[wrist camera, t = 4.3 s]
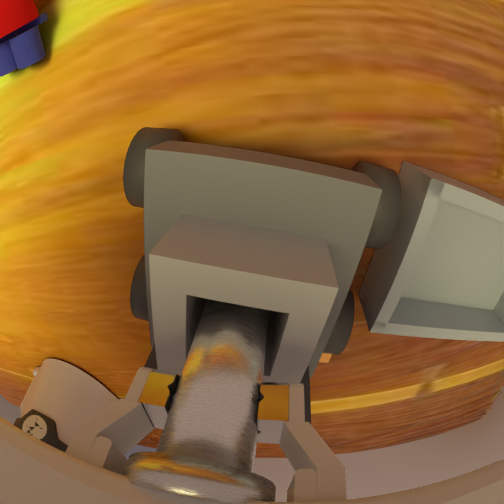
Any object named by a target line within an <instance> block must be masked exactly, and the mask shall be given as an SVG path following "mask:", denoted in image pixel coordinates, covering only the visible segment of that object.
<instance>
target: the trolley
mask: <svg viewBox="0 0 504 504" xmlns="http://www.w3.org/2000/svg"><path fill="white" fill-rule="evenodd" d="M123 182H124V190H125V195H126V198H127V200H128V202H129V203H130V204H131V205H132V206H135V207H142V208H144V251H145V255H144V256H143V257H142V258H141V260H140V262H139V263H138V266H137V268H136V270H135V273H134V277H133V281H132V286H131V295H130V303H131V310H132V313H133V315H134V316H135V317H136V318H139V319H143V320H147V321H149V327H150V337H151V346H152V348H153V349H152V351H151V353H150V355H149V357H148V360H147V362H146V364H145V366H144V367H147V368H152V369H157V370H162V371H167V372H173V373H179V374H180V377H181V374H182V371H183V368H184V365H185V362H186V359H187V356H188V353H189V350H190V347H191V344H192V342H193V339H194V336H195V333H196V330H197V327H198V324H199V321H200V319H201V316H202V313H203V310H204V307H205V304H206V302H207V299H211V300H216V301H221V302H226V303H232V304H237V305H243V306H248V307H254V308H260V309H265V310H269V313H268V325H267V337H266V349H265V361H264V372H263V382H275V383H301V384H303V385H304V405H305V422H309V423H310V424H311V408H310V380H309V377H312V375H313V373H314V371H315V369H316V366H317V364H318V362H323V363H328V362H329V360H330V358H331V356H332V354H340V353H341V352H342V351H343V350H344V348H345V347H346V345H347V343H348V340H349V337H350V334H351V330H352V326H353V319H354V299H353V294H352V292H351V290H350V286H351V283H352V281H353V278H354V275H355V273H356V270H357V267H358V264H359V261H360V259H361V256H362V253H363V250H364V247H368V248H373V249H381V248H382V247H384V246H385V245H386V244H387V242H388V241H389V240H390V238H391V236H392V234H393V232H394V230H395V227H396V224H397V221H398V217H399V213H400V207H401V184H400V180H399V177H398V174H397V173H396V172H395V171H394V170H392V169H389V168H385V167H382V166H378V165H374V164H371V163H367V162H363V161H360V162H358V163H357V164H356V165H355V167H354V169H353V170H352V171H351V170H347V169H343V168H339V167H335V166H330V165H326V164H321V163H317V162H312V161H307V160H302V159H297V158H292V157H287V156H281V155H276V154H270V153H264V152H258V151H252V150H246V149H239V148H232V147H225V146H217V145H209V144H201V143H192V142H184V139H183V136H182V133H181V132H180V131H179V130H177V129H165V128H149V127H145V128H142V129H141V130H139V131H138V132H137V133H136V135H135V136H134V138H133V139H132V141H131V143H130V146H129V148H128V151H127V155H126V159H125V164H124V174H123Z"/></svg>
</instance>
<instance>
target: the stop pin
mask: <svg viewBox="0 0 504 504" xmlns="http://www.w3.org/2000/svg"><path fill="white" fill-rule="evenodd" d="M268 313H269V310H265V309H260V308H254V307H248V306H243V305H237V304H232V303H226V302H221V301H216V300H211V299H207V302H206V304H205V307H204V310H203V313H202V316H201V319H200V321H199V324H198V327H197V330H196V333H195V336H194V339H193V342H192V344H191V347H190V350H189V353H188V356H187V359H186V362H185V365H184V368H183V371H182V374H181V377H180V380H179V383H178V386H177V389H176V392H175V395H174V398H173V401H172V404H171V407H170V410H169V413H168V416H167V419H166V422H165V426H164V429H163V432H162V435H161V438H160V441H159V444H158V448H157V451H156V452H137V453H134V454H132V455H130V456H129V459H128V461H127V464H126V467H125V470H124V473H123V475H124V476H127V477H128V479H129V481H130V483H132V484H136V485H139V486H142V487H146V488H150V489H153V490H157V491H161V492H165V493H169V494H174V495H178V496H183V497H188V498H193V499H199V500H204V501H211V502H218V503H225V504H246V503H247V502H250V501H266V502H275V493H276V487H275V485H274V484H273V483H272V482H271V481H270V480H268V479H266V478H264V477H262V476H259V475H257V474H255V473H253V470H254V462H255V453H256V443H257V434H258V429H257V419H258V408H259V402H260V388H261V382H263V372H264V361H265V349H266V337H267V325H268Z"/></svg>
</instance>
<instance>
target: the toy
mask: <svg viewBox="0 0 504 504" xmlns="http://www.w3.org/2000/svg"><path fill="white" fill-rule="evenodd" d="M46 20H48V17H47V13H44V14H42V15H40V16H39V13H38V10H37V7H36V4H35V2H34V0H0V76H4V75H6V74H8V73H10V72H12V71H13V70H15V69H16V68H18V69H23V68H26V67H28V66H30V65H32V64H34V63H36V62H38V61H40V60H41V59H43V58H44V57H45V56H46V53H45V50H44V46H43V43H42V39H41V35H40V32H39V28H38V24H41V23H43V22H45V21H46ZM15 34H16V35H15Z"/></svg>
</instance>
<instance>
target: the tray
mask: <svg viewBox="0 0 504 504" xmlns="http://www.w3.org/2000/svg"><path fill="white" fill-rule="evenodd" d="M399 180H400V184H401V207H400V213H399V217H398V221H397V224H396V227H395V230H394V232H393V234H392V236H391V238H390V240H389V241H388V242H387V244H386V245H385V246H384V247H382V248H381V249H375V252H374V255H373V257H372V260H371V263H370V266H369V268H368V271H367V273H366V276H365V279H364V281H363V284H362V286H361V289H360V291H359V294H358V295H359V298H360V301H361V304H362V308H363V311H364V314H365V317H366V321H367V324H368V328H369V331H370V332H374V333H383V334H393V335H403V336H414V337H427V338H440V339H456V340H476V341H504V200H503V199H501V198H498V197H496V196H494V195H492V194H490V193H487V192H485V191H483V190H480V189H478V188H476V187H473V186H471V185H468V184H466V183H463V182H461V181H458V180H456V179H453V178H451V177H448V176H445V175H443V174H440V173H437V172H434V171H431V170H429V169H426V168H423V167H420V166H417V165H414V164H411V163H408V162H405V161H403V162H402V166H401V169H400V173H399Z"/></svg>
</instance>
